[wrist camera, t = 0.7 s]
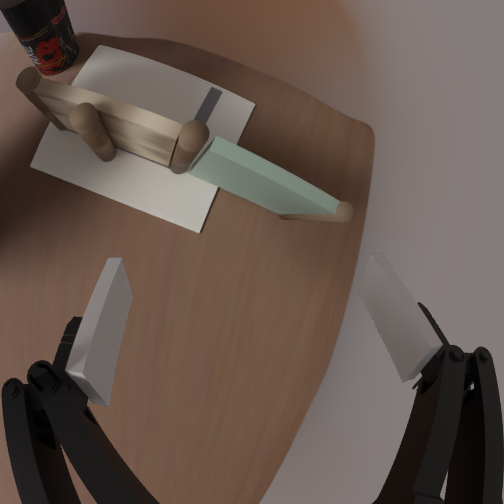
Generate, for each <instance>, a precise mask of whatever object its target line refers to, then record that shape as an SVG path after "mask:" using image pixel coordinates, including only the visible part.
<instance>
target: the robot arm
mask: <svg viewBox="0 0 504 504" xmlns="http://www.w3.org/2000/svg"><path fill="white" fill-rule="evenodd" d="M357 291H358V293H359V295H360V297H361V299H362V301H363V303H364V304H365V306H366V308H367V310H368V312H369V314H370V316H371V318H372V320H373V322H374V324H375V326H376V327H377V329H378V331H379V333H380V335H381V337H382V340H383V342H384V344H385V346H386V348H387V350H388V352H389V354H390V355H391V358H392V360H393V362H394V364H395V367H396V369H397V371H398V373H399V375H400V378H401V380H402V382H405V381H408V380H412V379H414V378H415V377H416V376H417V375H418V374H419V373H420V372H421V374H422V377H421V378H420V379H419V380H418V382H417V383H416V384H415V385H414V386H413V388H412V389H415V388H416V386H418V389H417V393H416V397H415V400H414V405H413V408H412V411H411V415H410V418H409V421H408V424H407V428H406V430H405V434H404V436H403V439H402V442H401V445H400V448H399V450H398V453H397V455H396V458H395V460H394V463H393V465H392V468H391V470H390V472H389V475H388V478H387V479H386V482H385V484H384V486H383V488H382V490H381V492H380V494H379V496H378V498H377V499H376V500H375V501H374V502H373V503H372V504H503V501H502V488H503V472H504V439H503V423H502V412H501V404H500V397H499V390H498V384H497V378H496V373H495V368H494V364H493V359H492V356H491V354H490V353H489V351H488V350H487V349H486V348H484V347H478V348H477V349H476V350H475V351H474V352H473V353H464V352H463V351H462V350H461V348H459V347H458V346H455V345H450V344H449V343H448V341H447V339H446V338H445V336H444V334H443V333H442V331H441V329H440V328H439V326H438V325H437V324H436V321H435V320H434V318H432V315H431V314H430V312H429V311H428V309H427V308H426V307H425V306H424V305H422V304H421V303H420V302H419V303H417V302H416V301H415V299H414V298H413V297H412V295H411V294H410V292H409V291H408V289H407V288H406V286H405V285H404V283H403V282H402V281H401V279H400V278H399V276H398V275H397V274H396V272H395V271H394V269H393V268H392V267H391V266H390V264H389V263H388V261H387V260H386V259H385V257H384V256H383V255H382V254H371V255H370V258H369V261H368V263H367V266H366V269H365V272H364V274H363V277H362V280H361V282H360V285H359V287H358V290H357ZM132 299H133V296H132V293H131V290H130V286H129V283H128V279H127V275H126V272H125V268H124V264H123V260H122V258H108V260H107V262H106V264H105V266H104V269H103V271H102V273H101V275H100V277H99V280H98V282H97V284H96V286H95V289H94V291H93V294H92V296H91V298H90V301H89V303H88V306H87V308H86V311H85V313H84V316H83V317H73V318H72V320H71V321H70V322H69V323H68V324H67V326H66V329H65V331H64V336H63V337H62V339H61V344H60V345H59V347H58V350H57V353H56V356H55V359H54V362H53V365H51V364H50V363H49V362H47V361H44V360H40V361H37V362H35V363H34V364H33V365H31V367H30V368H29V370H28V373H27V382H28V383H29V384H23V383H22V382H21V381H20V380H19V379H17V378H11V379H9V380H7V381H6V382H5V383H4V385H3V388H2V408H3V418H4V427H5V434H6V441H7V447H8V452H9V457H10V462H11V466H12V471H13V475H14V478H15V482H16V486H17V489H18V493H19V496H20V499H21V502H22V504H81V502H80V500H79V497H78V495H77V492H76V490H75V487H74V485H73V482H72V479H71V477H70V474H69V471H68V468H67V465H66V462H65V458H64V455H63V452H62V448H61V445H62V447H63V449H64V451H65V453H66V455H67V457H68V458H69V460H70V462H71V464H72V465H73V467H74V469H75V470H76V472H77V474H78V475H79V477H80V479H81V480H82V482H83V483H84V485H85V486H86V488H87V489H88V491H89V492H90V494H91V495H92V497H93V498H94V499H95V501H96V502H97V504H160V503H159V502H158V501H157V500H156V499H155V498H154V497H153V496H152V495H151V494H150V493H149V491H148V490H147V489H146V488H145V487H144V486H143V484H142V483H141V482H140V481H139V480H138V478H137V477H136V476H135V475H134V474H133V472H132V471H131V470H130V468H129V467H128V466H127V465H126V463H125V462H124V461H123V459H122V458H121V456H120V455H119V454H118V452H117V451H116V450H115V448H114V447H113V445H112V444H111V442H110V441H109V439H108V438H107V436H106V435H105V433H104V432H103V430H102V429H101V427H100V425H99V424H98V422H97V420H96V419H95V417H94V415H93V414H92V412H91V410H90V409H89V407H88V406H87V402H88V398H89V399H90V401H91V402H92V403H93V404H98V405H104V406H109V403H110V397H111V391H112V386H113V380H114V375H115V370H116V365H117V360H118V355H119V351H120V346H121V342H122V338H123V333H124V329H125V325H126V321H127V317H128V314H129V310H130V306H131V303H132ZM473 383H474V389H473V390H471V385H472V384H473ZM60 443H61V445H60ZM447 471H448V478H447V486H446V493H445V499H444V500H443V499H442V498H441V497H440V492H441V489H442V486H443V483H444V480H445V477H446V474H447Z"/></svg>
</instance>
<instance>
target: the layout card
mask: <svg viewBox="0 0 504 504" xmlns="http://www.w3.org/2000/svg"><path fill="white" fill-rule="evenodd" d="M71 86H75V87H78V88H82V89H85V90H88V91H92V92H95V93H98V94H101V95H104V96H107V97H110V98H113V99H116V100H119V101H122V102H125V103H128V104H131V105H134V106H136V107H139V108H142V109H144V110H147V111H150V112H152V113H155V114H158V115H160V116H163V117H165V118H168V119H170V120H173V121H175V122H178V123H180V124H182V125H184V124H185V123H187V122H188V121H191V120H198V121H201V122H203V123H205V124H206V125H207V127H208V129H209V132H210V135H209V139H208V141H207V142H206V144H205V145H204V146H203V148H202V149H201V150H200V152H199V153H198V154H197V156H196V157H195V159H194V160H193V161H192V163H191V164H190V166H189V167H188V168H187V170H186V171H185V172H184V173H182V174H175V173H173V172H172V171H171V169H170V164H169V166H165V165H163V164H160V163H158V162H155V161H153V160H150V159H148V158H145V157H143V156H140V155H137V154H135V153H132V152H130V151H127V150H125V149H122V148H119V147H117V146H115V148H116V156H115V158H114V159H113V160H112V161H110V162H104V161H102V160H101V159H100V158H99V157H98V156H97V154H96V153H95V152H94V151H93V150H92V149H91V148H90V146H89V145H88V144H87V143H86V142H85V141H84V140H83V138H82V137H81V136H80V135H79V134H78V133H77V132H75V131H72V130H69V129H66V130H63V131H61V130H59V129H58V128H57V127H56V126H55V125H54V124H53V123H52V122H51V121H50V123H49V125H48V127H47V129H46V131H45V133H44V135H43V137H42V139H41V142H40V144H39V146H38V148H37V151H36V153H35V155H34V158H33V160H32V162H31V165H30V167H32V168H35V169H37V170H40V171H42V172H45V173H47V174H50V175H52V176H55V177H57V178H60V179H62V180H65V181H67V182H70V183H73V184H75V185H78V186H80V187H83V188H85V189H88V190H90V191H93V192H95V193H98V194H100V195H103V196H106V197H108V198H111V199H113V200H116V201H118V202H121V203H123V204H126V205H128V206H131V207H133V208H136V209H139V210H141V211H144V212H146V213H149V214H151V215H154V216H156V217H159V218H162V219H164V220H167V221H169V222H172V223H174V224H177V225H179V226H182V227H184V228H187V229H190V230H192V231H195V232H197V233H200V230H201V228H202V225H203V223H204V220H205V218H206V215H207V213H208V210H209V208H210V205H211V203H212V200H213V198H214V196H215V193H216V191H217V188H218V186H215V185H213V184H211V183H208V182H206V181H204V180H201V179H199V178H197V177H194V176H192V175H190V174H189V173H190V171H191V168H192V166H193V164H194V163H195V161H196V160H197V159H198V158H199V156H200V155H201V154H202V152H203V151H204V150H205V149H206V147H207V146H208V145H209V144H210V143H211V141H212V140H213V139H214V138H215V136H218V137H220V138H222V139H225V140H227V141H229V142H231V143H233V144H235V145H237V143H238V140H239V138H240V136H241V134H242V132H243V129H244V127H245V125H246V123H247V121H248V119H249V117H250V115H251V112H252V110H253V108H254V106H255V104H254V103H252V102H250V101H248V100H246V99H244V98H242V97H240V96H238V95H236V94H234V93H232V92H230V91H228V90H226V89H224V88H221V87H219V86H217V85H215V84H212V83H210V82H208V81H206V80H203V79H201V78H199V77H196V76H194V75H191V74H189V73H186V72H184V71H181V70H179V69H176V68H173V67H171V66H168V65H165V64H163V63H160V62H157V61H154V60H151V59H148V58H145V57H142V56H139V55H135V54H132V53H129V52H125V51H122V50H118V49H115V48H111V47H107V46H103V45H99V46H98V47H97V48H96V50H95V51H94V52H93V54H92V55H91V56H90V58H89V59H88V61H87V62H86V63H85V65H84V66H83V68H82V69H81V71H80V72H79V74H78V75H77V77H76V78H75V80H74V81H73V83H72V84H71Z"/></svg>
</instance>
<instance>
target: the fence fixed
mask: <svg viewBox="0 0 504 504" xmlns="http://www.w3.org/2000/svg"><path fill="white" fill-rule="evenodd" d="M16 86H17V88H18V89H19V90H20V91H21V92H22V93H23V94H24V95H25V96H26V97H27V98H28V99H29V100H30V101H31V102H32V103H33V104H34V105H35V106H36V107H37V108H38V109H39V110H40V111H41V112H42V113H43V114H44V115H45V116H46V117H47V118H48V119H49V120H50V121H51V122H52V123H53V124H54V125H55V126H56V127H57V128H58V129H59V130H61V131H63V130H66V129H69V130H72V131H75V132H77V133H78V134H79V135H80V136H81V137H82V138H83V140H84V141H85V142H86V143H87V144H88V145H89V146H90V148H91V149H92V150H93V151H94V152H95V153H96V154H97V156H98V157H99V158H100V159H101V160H102V161H104V162H110V161H112V160H113V159H114V158H115V156H116V148H115V146H117V147H119V148H122V149H125V150H127V151H130V152H132V153H135V154H137V155H140V156H143V157H145V158H148V159H150V160H153V161H155V162H158V163H160V164H163V165H165V166H169V164H170V169H171V171H172V172H173V173H175V174H182V173H184V172H185V171H186V170H187V168H188V167H189V166H190V164H191V163H192V161H193V160H194V159H195V157H196V156H197V154H198V153H199V152H200V150H201V149H202V148H203V146H204V145H205V144H206V142H207V141H208V139H209V135H210V132H209V129H208V127H207V125H206V124H205V123H203V122H201V121H198V120H191V121H188V122H187V123H185V124H184V125H182V124H180V123H178V122H175V121H173V120H170V119H168V118H165V117H163V116H160V115H158V114H155V113H152V112H150V111H147V110H144V109H142V108H139V107H136V106H134V105H131V104H128V103H125V102H122V101H119V100H116V99H113V98H110V97H107V96H104V95H101V94H98V93H95V92H92V91H88V90H85V89H82V88H78V87H75V86H71V85H68V84H64V83H60V82H56V81H52V80H48V79H44V78H42V76H41V75H40V73H39V72H38V71H37V69H36V68H35V67H28V68H26V69H24V70H23V71H22V72H21V73H20V74H19V76H18V78H17V80H16Z"/></svg>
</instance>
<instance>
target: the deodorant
mask: <svg viewBox="0 0 504 504" xmlns="http://www.w3.org/2000/svg"><path fill="white" fill-rule="evenodd" d="M0 10H1V12H2V13H3V15H4V17H5V18H6V20H7V22H8V24H9V25H10V27H11V29H12V30H13V32H14V33H15V35H16V37H17V38H18V40H19V41H20V43H21V44H22V46H23V48H24V49H25V51H26V52H27V54H28V55H29V57H30V58H31V60H32V61H33V63H34V64H35V66H36V67H37V69H38V70H39V71H40V73H41V74H43V75H45V76H52V75H56V74H58V73H61V72H62V71H64V70H66V69H67V68H68V67H69V66H70V65H71V64H72V63H73V62H74V61H75V59H76V57H77V55H78V52H79V46H78V44H77V41H76V38H75V35H74V32H73V29H72V26H71V22H70V19H69V16H68V12H67V9H66V6H65V2H64V0H0Z"/></svg>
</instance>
